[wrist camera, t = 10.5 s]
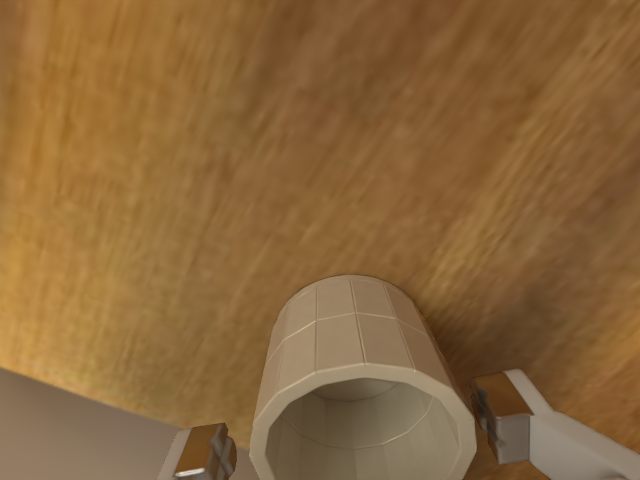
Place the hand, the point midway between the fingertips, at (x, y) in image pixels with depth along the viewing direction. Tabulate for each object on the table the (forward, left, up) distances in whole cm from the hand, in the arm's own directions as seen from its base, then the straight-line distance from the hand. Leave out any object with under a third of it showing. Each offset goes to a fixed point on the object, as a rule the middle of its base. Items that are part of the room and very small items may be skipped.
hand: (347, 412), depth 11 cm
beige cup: (0, 0, -4) cm, 4 cm away
